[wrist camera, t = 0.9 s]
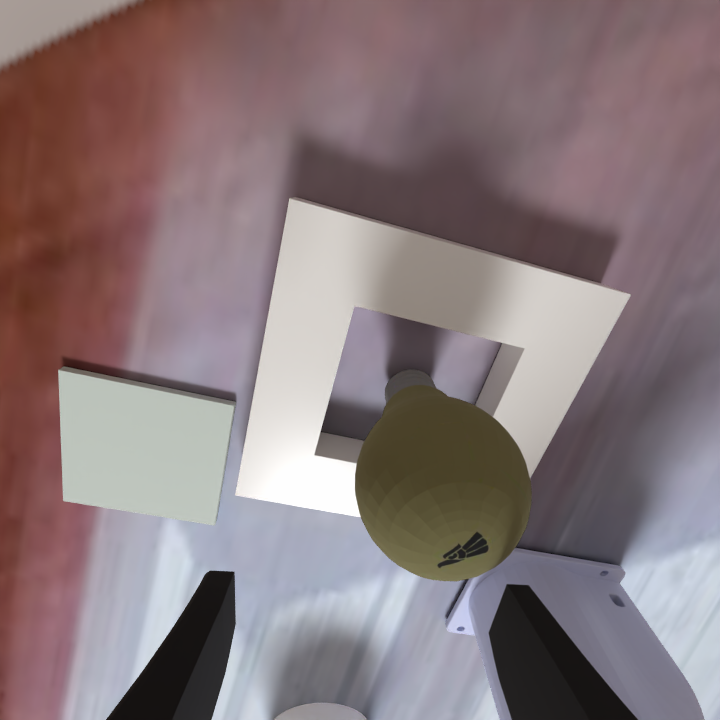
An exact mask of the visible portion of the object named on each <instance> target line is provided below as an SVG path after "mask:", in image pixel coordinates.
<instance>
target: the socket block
mask: <svg viewBox="0 0 720 720" xmlns="http://www.w3.org/2000/svg"><path fill="white" fill-rule="evenodd" d="M630 296H631V294H628V293H625V292H623V291H620V290H617V289H615V288H612V287H609V286H607V285H604V284H601V283H598V282H594V281H591V280H587V279H584V278H580V277H577V276H573V275H570V274H566V273H562V272H559V271H555V270H552V269H548V268H545V267H541V266H538V265H534V264H531V263H527V262H524V261H520V260H517V259H513V258H509V257H506V256H502V255H499V254H495V253H492V252H488V251H485V250H481V249H478V248H474V247H471V246H467V245H464V244H460V243H456V242H453V241H449V240H446V239H442V238H439V237H435V236H432V235H428V234H425V233H421V232H418V231H414V230H411V229H407V228H404V227H400V226H396V225H393V224H389V223H386V222H382V221H379V220H375V219H372V218H368V217H365V216H361V215H358V214H354V213H351V212H347V211H343V210H340V209H336V208H333V207H329V206H326V205H322V204H319V203H315V202H312V201H308V200H305V199H301V198H298V197H293V198H289V204H288V209H287V215H286V220H285V226H284V231H283V237H282V242H281V248H280V253H279V259H278V264H277V269H276V275H275V280H274V286H273V291H272V297H271V302H270V308H269V313H268V319H267V324H266V330H265V335H264V341H263V346H262V352H261V357H260V362H259V368H258V373H257V379H256V384H255V390H254V395H253V401H252V406H251V412H250V417H249V423H248V428H247V434H246V439H245V445H244V450H243V455H242V461H241V466H240V472H239V477H238V483H237V488H236V494H235V495H236V496H242V497H248V498H254V499H259V500H265V501H271V502H277V503H282V504H288V505H294V506H300V507H305V508H311V509H317V510H323V511H328V512H334V513H340V514H346V515H351V516H357V517H361V516H360V513H359V509H358V505H357V500H356V496H355V472H356V465H357V460H358V457H359V454H360V451H361V448H362V445H363V443H364V441H363V440H358V439H353V438H348V437H343V436H338V435H333V434H328V433H323V432H321V428H322V424H323V421H324V417H325V413H326V410H327V406H328V402H329V398H330V395H331V391H332V387H333V384H334V380H335V376H336V373H337V369H338V365H339V361H340V358H341V354H342V350H343V347H344V343H345V339H346V336H347V332H348V328H349V324H350V321H351V317H352V313H353V310H354V306H357V307H361V308H365V309H369V310H373V311H377V312H381V313H385V314H389V315H393V316H397V317H401V318H405V319H409V320H413V321H417V322H421V323H425V324H429V325H433V326H437V327H441V328H445V329H449V330H453V331H457V332H461V333H465V334H469V335H473V336H477V337H481V338H485V339H489V340H493V341H497V342H501V343H502V345H501V347H500V350H499V352H498V354H497V357H496V359H495V361H494V363H493V366H492V368H491V370H490V373H489V375H488V377H487V379H486V382H485V384H484V386H483V388H482V391H481V393H480V395H479V398H478V400H477V402H476V404H475V406H477V407H479V408H481V409H482V410H484V411H485V412H487V413H488V414H489V415H491V416H492V417H493V418H495V419H496V420H497V421H498V422H499V423H500V424H501V425H502V426H503V427H504V428H505V429H506V430H507V431H508V432H509V434H510V435H511V436H512V438H513V439H514V441H515V442H516V443H517V445H518V447H519V448H520V450H521V452H522V455H523V457H524V459H525V462H526V465H527V469H528V473H529V477H530V478H531V476H532V474H533V473H534V471H535V469H536V467H537V465H538V464H539V462H540V460H541V458H542V456H543V454H544V453H545V451H546V449H547V447H548V445H549V443H550V442H551V440H552V438H553V436H554V434H555V432H556V431H557V429H558V427H559V425H560V423H561V422H562V420H563V418H564V416H565V414H566V412H567V411H568V409H569V407H570V405H571V403H572V401H573V400H574V398H575V396H576V394H577V392H578V391H579V389H580V387H581V385H582V383H583V381H584V380H585V378H586V376H587V374H588V372H589V370H590V369H591V367H592V365H593V363H594V361H595V360H596V358H597V356H598V354H599V352H600V350H601V349H602V347H603V345H604V343H605V341H606V339H607V338H608V336H609V334H610V332H611V330H612V329H613V327H614V325H615V323H616V321H617V319H618V318H619V316H620V314H621V312H622V310H623V308H624V307H625V305H626V303H627V301H628V299H629V297H630Z"/></svg>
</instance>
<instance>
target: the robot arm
mask: <svg viewBox="0 0 720 720" xmlns="http://www.w3.org/2000/svg"><path fill="white" fill-rule="evenodd" d="M624 576H625V571H624V570H623V568H622V567H621V566H618V565H612V564H607V563H601V562H595V561H589V560H583V559H578V558H572V557H566V556H560V555H554V554H549V553H543V552H537V551H531V550H525V549H520V548H515V549H514V550H513V551H512V553H511V554H510V555H509V556H508V557H507V558H506V559H505V560H504V561H503V562H502V563H500V564H499V565H498V566H496V567H495V568H493V569H491V570H489V571H487V572H485V573H483V574H481V575H480V576H478V577H474V578H469V580H468V582H467V583H466V585H465V587H464V589H463V591H462V593H461V595H460V596H459V598H458V600H457V602H456V604H455V606H454V607H453V609H452V611H451V613H450V615H449V617H448V619H447V620H446V623H445V624H446V628H447V630H448V631H449V632H454V633H461V634H468V635H475V636H476V640H477V643H478V647H479V650H480V654H481V657H482V660H483V664H484V667H485V671H486V674H487V678H488V681H489V684H490V688H491V691H492V695H493V698H494V702H495V705H496V708H497V712H498V715H499V719H500V720H704V716H703V713H702V710H701V707H700V705H699V703H698V700H697V698H696V696H695V694H694V692H693V690H692V688H691V686H690V685H689V683H688V681H687V680H686V678H685V677H684V675H683V674H682V672H681V671H680V669H679V668H678V666H677V665H676V664H675V662H674V661H673V659H672V658H671V656H670V655H669V654H668V652H667V651H666V649H665V648H664V646H663V645H662V643H661V642H660V641H659V639H658V638H657V636H656V635H655V633H654V632H653V630H652V629H651V628H650V626H649V625H648V623H647V622H646V620H645V619H644V618H643V616H642V615H641V613H640V612H639V610H638V609H637V607H636V606H635V605H634V603H633V602H632V600H631V599H630V597H629V596H628V595H627V593H626V592H625V590H624V589H623V587H622V586H621V584H620V582H621V580H622V579H623V578H624ZM235 624H236V622H235V576H234V572H228V571H209V572H207V573H206V574H205V576H204V578H203V579H202V581H201V583H200V585H199V587H198V588H197V590H196V592H195V593H194V595H193V597H192V598H191V600H190V602H189V603H188V605H187V606H186V608H185V610H184V611H183V613H182V614H181V616H180V617H179V619H178V620H177V622H176V623H175V625H174V627H173V628H172V630H171V631H170V633H169V634H168V635H167V637H166V638H165V640H164V641H163V643H162V644H161V646H160V647H159V648H158V650H157V651H156V653H155V654H154V656H153V657H152V659H151V660H150V661H149V663H148V664H147V666H146V667H145V669H144V670H143V671H142V673H141V674H140V675H139V677H138V678H137V679H136V681H135V682H134V683H133V685H132V686H131V687H130V689H129V690H128V691H127V693H126V694H125V695H124V697H123V698H122V699H121V701H120V702H119V703H118V705H117V706H116V707H115V709H114V710H113V711H112V713H111V714H110V715H109V717H108V718H107V719H106V720H211V719H212V716H213V712H214V709H215V706H216V702H217V699H218V696H219V692H220V689H221V686H222V682H223V679H224V675H225V672H226V667H227V663H228V658H229V653H230V649H231V644H232V639H233V634H234V629H235Z"/></svg>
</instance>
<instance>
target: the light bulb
mask: <svg viewBox="0 0 720 720" xmlns="http://www.w3.org/2000/svg"><path fill="white" fill-rule="evenodd" d="M385 400H386V406H385V408H384V411H383V414H382V417H381V418H380V419H379V420H378V421H377V422H376V424H375V425H374V427H373V428H372V430H371V431H370V433H369V434H368V436H367V438H366V439H365V441H364V443H363V445H362V448H361V451H360V454H359V457H358V460H357V465H356V472H355V496H356V500H357V505H358V509H359V513H360V516H361V519H362V521H363V523H364V525H365V527H366V529H367V531H368V533H369V535H370V536H371V538H372V540H373V541H374V542H375V543H376V545H377V546H378V547H379V548H380V549H381V550H382V551H383V552H384V553H385V554H386V556H387V557H388V558H389V559H391V560H392V561H393V562H395V563H396V564H397V565H399V566H400V567H402V568H404V569H406V570H408V571H409V572H411V573H413V574H416V575H418V576H420V577H423V578H427V579H431V580H440V581H460V580H465V579H469V578H474V577H478V576H480V575H481V574H483V573H485V572H487V571H489V570H491V569H493V568H495V567H496V566H498V565H499V564H500V563H502V562H503V561H504V560H505V559H506V558H507V557H508V556H509V555H510V554H511V553H512V551H513V550H514V549H515V547H516V546H517V544H518V542H519V540H520V539H521V537H522V535H523V533H524V531H525V529H526V526H527V522H528V519H529V514H530V509H531V494H532V491H531V481H530V477H529V473H528V469H527V465H526V462H525V459H524V457H523V455H522V452H521V450H520V448H519V447H518V445H517V443H516V442H515V441H514V439H513V438H512V436H511V435H510V434H509V432H508V431H507V430H506V429H505V428H504V427H503V426H502V425H501V424H500V423H499V422H498V421H497V420H496V419H495V418H493V417H492V416H491V415H489V414H488V413H487V412H485V411H484V410H482V409H481V408H479V407H477V406H475V405H473V404H470V403H468V402H465V401H462V400H460V399H457V398H452V397H448V396H447V395H446V394H444V393H443V392H442V391H440V390H438V389H436V387H435V384H434V383H433V381H432V379H431V378H430V376H428V375H427V374H426V373H424V372H422V371H420V370H413V369H410V370H404V371H401V372H399V373H397V374H395V375H394V376H393V377H392V378H391V379H390V380H389V381H388V383H387V385H386V388H385Z"/></svg>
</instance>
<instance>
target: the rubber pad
mask: <svg viewBox="0 0 720 720" xmlns="http://www.w3.org/2000/svg"><path fill="white" fill-rule="evenodd" d="M58 372H59V399H60V425H61V452H62V479H63V501H67V502H73V503H80V504H86V505H92V506H98V507H104V508H110V509H116V510H123V511H129V512H135V513H141V514H147V515H153V516H160V517H166V518H172V519H178V520H184V521H190V522H197V523H203V524H209V525H215V523H216V521H217V516H218V510H219V504H220V498H221V492H222V485H223V479H224V473H225V467H226V461H227V455H228V449H229V443H230V437H231V431H232V425H233V419H234V412H235V406H236V402H234V401H230V400H225V399H220V398H215V397H210V396H205V395H200V394H196V393H191V392H186V391H181V390H176V389H171V388H167V387H162V386H157V385H152V384H147V383H142V382H137V381H133V380H128V379H123V378H118V377H113V376H108V375H104V374H99V373H94V372H89V371H84V370H79V369H74V368H70V367H65V366H64V367H62V368H61V369H59V370H58Z"/></svg>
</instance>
